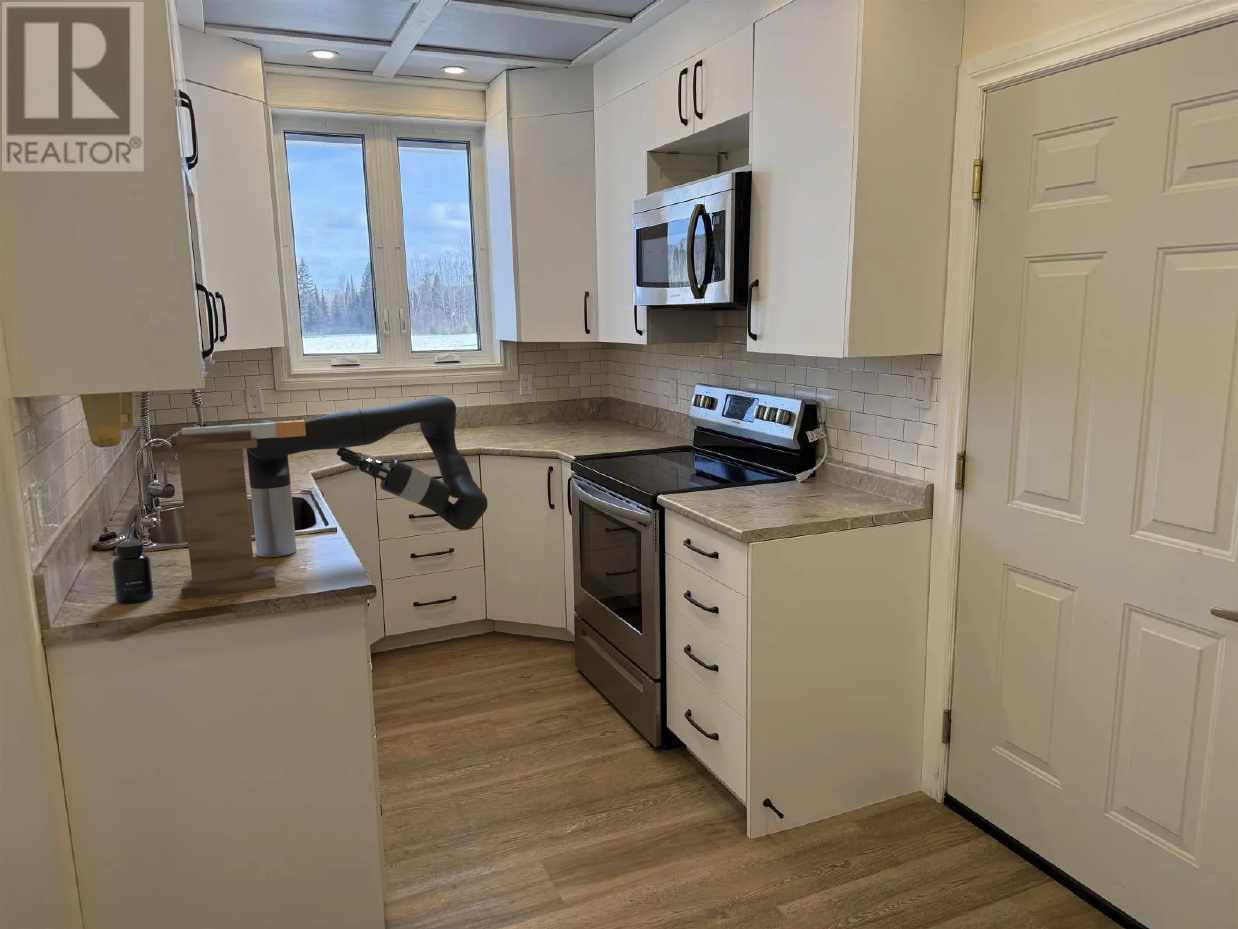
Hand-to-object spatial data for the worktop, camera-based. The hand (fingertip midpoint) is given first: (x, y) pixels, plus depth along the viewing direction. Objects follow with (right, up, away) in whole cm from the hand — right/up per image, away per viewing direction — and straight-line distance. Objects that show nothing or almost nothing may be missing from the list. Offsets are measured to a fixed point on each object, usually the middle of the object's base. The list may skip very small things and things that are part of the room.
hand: (340, 452), depth 186 cm
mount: (-22, -29, -5) cm, 37 cm away
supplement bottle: (-38, -31, -13) cm, 51 cm away
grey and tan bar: (-17, +3, -8) cm, 19 cm away
